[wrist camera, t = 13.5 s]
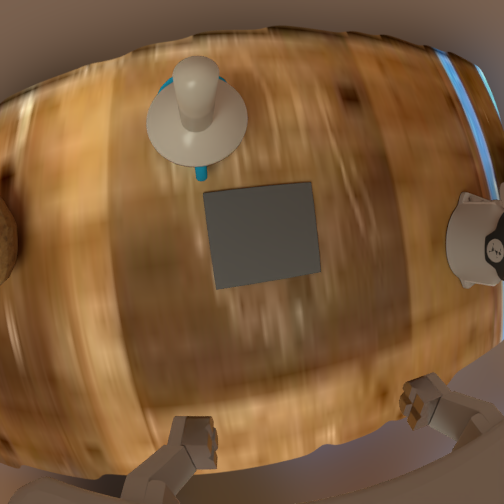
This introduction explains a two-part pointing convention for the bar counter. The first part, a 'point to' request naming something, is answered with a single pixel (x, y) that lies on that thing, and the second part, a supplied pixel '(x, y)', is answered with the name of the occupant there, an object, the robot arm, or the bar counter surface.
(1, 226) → the potato
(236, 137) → the white post stand
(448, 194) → the bar counter surface
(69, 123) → the bar counter surface
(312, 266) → the mat
